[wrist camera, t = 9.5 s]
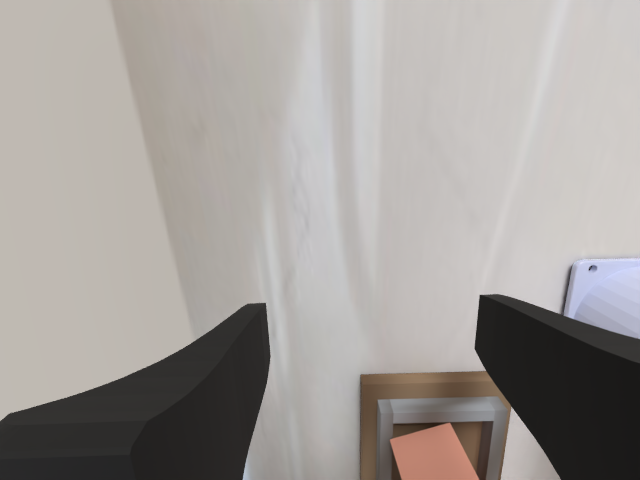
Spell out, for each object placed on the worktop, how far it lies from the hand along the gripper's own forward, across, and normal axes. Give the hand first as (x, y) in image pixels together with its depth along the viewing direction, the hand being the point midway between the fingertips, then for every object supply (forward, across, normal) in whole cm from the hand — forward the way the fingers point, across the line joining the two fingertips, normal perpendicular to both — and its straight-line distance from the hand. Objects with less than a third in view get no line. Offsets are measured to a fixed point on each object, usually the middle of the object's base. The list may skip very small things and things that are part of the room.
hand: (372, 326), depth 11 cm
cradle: (+9, -6, +17) cm, 20 cm away
